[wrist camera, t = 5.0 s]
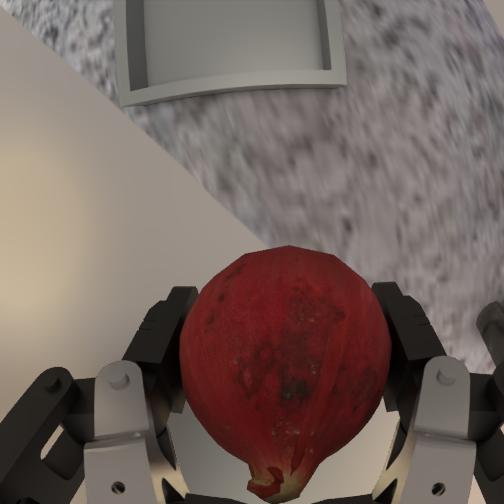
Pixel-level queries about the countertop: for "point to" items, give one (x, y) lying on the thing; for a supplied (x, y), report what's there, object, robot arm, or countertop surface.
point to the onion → (284, 363)
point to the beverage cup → (493, 330)
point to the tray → (225, 47)
